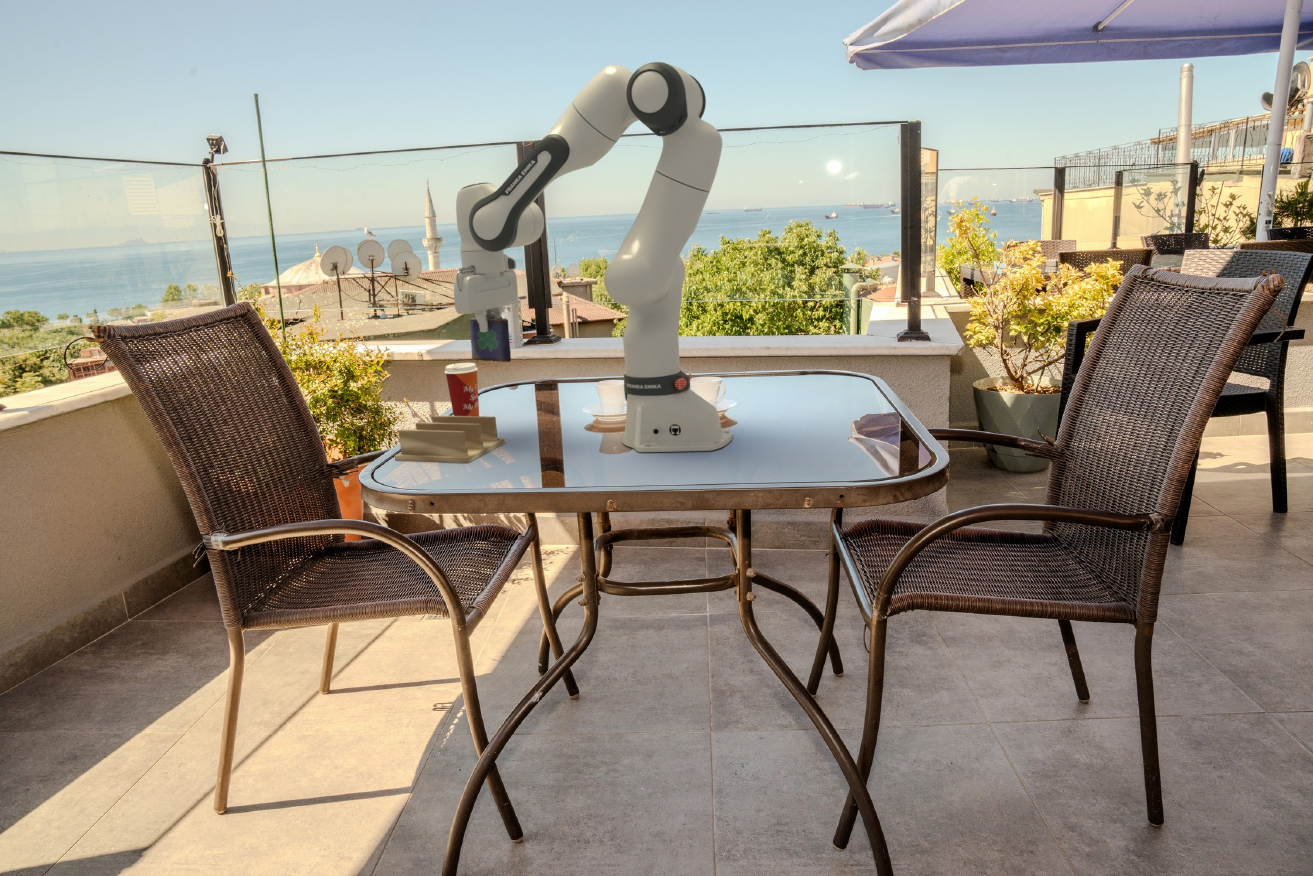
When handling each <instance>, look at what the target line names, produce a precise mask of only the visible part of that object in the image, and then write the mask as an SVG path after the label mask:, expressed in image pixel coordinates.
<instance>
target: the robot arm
mask: <svg viewBox="0 0 1313 876" xmlns="http://www.w3.org/2000/svg"><path fill="white" fill-rule="evenodd" d="M706 104H707V101H706V93H705V91H704V88H703V86H702V85H701V83H700V81H699V80H698V79H697V78H695V76H692V75H691V74H689V73H688V72H687V71H686V70H684V69H682V68H680V67H678V66H675V65H672V64H669V63H666V62H661V61H652V62H649V63H645V64H643V65H641V66H640V67H639V68H637V69H636V70H635V71H634V72H632V71H631V70H630V69H628V68H626V67H624V66H621V65H618V64H609V65H607V66H605V67H604V68H603V69H601V70H600V71H599V72H598V73H597V74H595V75H594V77H592V79H590V81H588V82H587V83H586V84H585V86H583V88H582V89H581V90H580V92H579V93H577V95H576V96H575V98H574V99H573V101H571V103H570V104H569V105H568V107H566V109H565V111H564V112H563V113H562V114H561V116H560V117H559V118H558V119H557V121H556V122H555V124H554V125H553V127H551V128H550V130H549V131H548V132H547V134H545V136H544V137H543V138H542V139H541V140H540V141H539V143H537V145H536V146H535V147H534V148H532V150H531V151H530V152H529V153H528V154H527V155H526V156H525V157H524V158H523V159H522V161H521V162H520V164H519V165H518V166H517V167H516V168H515V169H514V170H513V171H512V172H511V174H510V175H509V176H508V177H507V178H506V180H505V181H504V182H503V183H502V184H501V185H500V187H497V186H496V185H494V184H493V183H491V182H479V183H473V184H469V185H465V186H463V187H462V188H461V189H459V190H458V192H457V195H456V200H455V201H456V202H455V203H456V205H455V209H456V210H455V211H456V212H455V213H456V224H457V225H456V227H457V231H458V234H459V236H460V251H459V252H460V260H461V267H460V268H458V271H457V273H456V274H455V279H454V284H453V295H454V296H453V301H454V310H455V312H456V313H457V314H458V315H471V314H474V318H476V320H477V321H478V323H479V327H480V332H488V331H490V330H491V328H490V323H488V322H487V319H486V315H487V311H490V310H493V311H492V313H491V314H493V315H495V316H497V317H496V318H498V317H502V314H503V307H505V306H509V305H513V304H516V303H517V301H518V297H519V296H518V293H519V290H518V279H517V275H516V272H515V270H516V269H517V261H516V259H515V258H512V257H511V256H509V255H507V254H506V253H504V250H507V249H510V248H511V249H512V248H519V247H523V246H524V247H525V246H529V245H531V244H533V243H536V242H537V241H538V240H540V238H541V237H542V235H543V233H544V230H545V227H546V226H545V225H546V224H545V221H546V220H545V217H544V216H545V215H544V213H543V211H542V208H540V206H539V205H538V203H536V202H535V200H536V199H537V198H538V197H539V196H540V195H541V194H542V192H544V191H545V189H546V188H547V187H548V186H549V185H550V184H551V183H552V182H554V181H555V180H557V179H558V178H560V177H562V176H564V175H566V174H568V173H571V172H575V171H578V170H581V169H584V168H588V167H591V166H593V165H595V164H596V163H597V162H599V161H600V160H602V158H604V156H606V155H607V154H608V153H609V152H610V151H611V150H612V148H613V147H614V146H615V145H616V143H617V142H618V141H619V140H620V138H621V137H622V136H623V134H624V133H626V131H627V130H628V129H629V128H630V126H631V125H632V124H634V123H635V122H638V121H640V122H641V123H642V124H643V125H644V126H645V127H647V128H648V129H649V130H650V131H651V132H652V133H653V134H654V135H655V136H658V137H661V138H662V150H661V154H660V157H659V159H658V162H657V164H656V167H655V170H654V173H653V176H652V177H651V180H650V183H649V186H648V189H647V191H646V194H645V197H644V200H643V202H642V205H641V207H640V210H639V212H638V213H637V216H636V217H635V219H634V221H633V223H632V224H631V227H630V228H629V229H628V232H627V234H626V236H624V238H623V241H622V243H621V244H620V247H619V249H618V251H617V253H616V254H615V256H614V257H613V258H612V260H611V261H610V262H609V264H608V265H607V267H606V269H605V270H604V277H603V278H604V279H603V283H604V287H605V290H606V292H607V295H608V296H609V297H610V298H611V300H613V301H614V302H615V303H617V304H618V305H621V306H625V307H628V312H627V314H628V315H627V319H626V320H627V321H626V324H625V325H626V326H625V328H624V331H623V338H622V341H623V353H624V368H625V373H624V374H623V393H624V397H625V401H626V414H625V416H626V418H625V427H624V431H623V432H624V434H623V438H622V444H624V445H625V446H626V447H629V448H632V449H633V450H635V451H636V452H639V453H661V452H663V453H669V452H670V453H671V452H673V453H675V452H710V451H711V452H712V451H714V450H718V449H721V448H723V447H725V446H726V445H728V444H729V443H730V442H731V441H732V439H733V432H732V431H731V429H729V428H722V425H721V419H720V415H719V412H718V409H717V408H716V406H714V405H713V404H711V402H708V401H707V400H706V399H705V398H703V397H701V396H700V395H698V394H697V393H696V392H695V391H693V390H692V389H691V380H692V373H689V374H686V373H685V372H684V371H683V370H681V367H680V365H681V364H680V362H681V359H680V345H679V343H680V342H679V325H680V316H681V307H682V297H683V296H682V295H683V293H682V292H683V283H684V281H685V276H686V267H685V266H686V265H685V263H684V261H683V259H682V257H681V256H680V255H681V253H682V251H683V249H684V248H685V246H686V244H687V242H688V240H689V239H690V237H691V236H692V235H693V233H694V232H695V231H696V229H697V225H698V224H699V223H698V222H699V220H700V219H701V216H702V213H703V211H704V207H705V205H706V202H707V200H708V197H709V196H710V192H711V190H712V188H713V184H714V182H715V178H716V175H717V172H718V167H719V165H720V159H721V155H722V149H723V139H722V136H721V134H720V133H721V132H719V131H718V129H716V127H714V126H713V125H712V124H710V123H709V122H708V121H705V120H703V119H702V118H703V116H704V113H705V111H706V106H707V105H706Z"/></svg>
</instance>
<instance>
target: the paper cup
mask: <svg viewBox="0 0 1313 876" xmlns="http://www.w3.org/2000/svg"><path fill="white" fill-rule="evenodd" d="M478 370H479V368H478V367H477V365H476V363H474V362H459V363H452V364H447V365H446V366H445V371H444V374H445V375H446V376H445V377H446V380H447V381H446V382H447V386H448V393H449V397H450V404H451V408H452V409H451V410H452V413H453V416H480V405H479V404H480V403H479V386H478Z"/></svg>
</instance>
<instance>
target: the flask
mask: <svg viewBox="0 0 1313 876" xmlns="http://www.w3.org/2000/svg"><path fill="white" fill-rule="evenodd" d="M486 311H487V315H486V319H487V322H488V323H490V328H491V330H490V331H488V332H480V327H479V323H478V321H477V320H476V318H475V317H472V318H469V321H468V323H469V328H470V329H469V330H470V344H471V346H470V347H471V359H472V360H473V361H478V362H479V361H483V362H500V363H502V362H503V363H508V362H511V358H512V357H511V355H512V353H511V352H512V351H511V344H510V332H509V321H508V319H507V318H503V317H502V316H501V317H498V318H496V317H497V316H495V315H493V314H492V311H493V310H490V309H489V310H486Z"/></svg>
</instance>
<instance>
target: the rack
mask: <svg viewBox="0 0 1313 876" xmlns="http://www.w3.org/2000/svg"><path fill="white" fill-rule="evenodd" d="M431 420H432V421H431V422H430V421H429V422H427V421H424V422H423V421H422V422H421V421H418V422H416V423H415V429H408V428H407V429H405V428H402V429H399V430H398V432H397V433H398V437H399V444H400V445H399V446H400V451H401V452H400V453H397V454H395V455H394V459H395V461H405V462H406V461H409V462H430V463H432V462H433V463H452V464H453V463H454V464H455V463H456V464H469V463H471V462H473V461H475V460H477V459H478V458H481V456H484V455H486V454H487V453H490V452H491V451H493V450H495V449H497V448H498V447H500V446H502V445H504V444H505V443H506V442H505V441H506V440H505V438H501V437H498V436H499V435H498V427H497V420H496V416H485V415H484V416H480V415H479V416H454V415H435V414H434V415H432V416H431Z"/></svg>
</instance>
